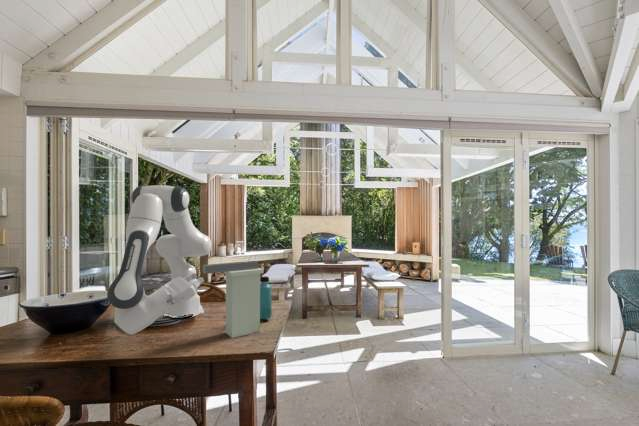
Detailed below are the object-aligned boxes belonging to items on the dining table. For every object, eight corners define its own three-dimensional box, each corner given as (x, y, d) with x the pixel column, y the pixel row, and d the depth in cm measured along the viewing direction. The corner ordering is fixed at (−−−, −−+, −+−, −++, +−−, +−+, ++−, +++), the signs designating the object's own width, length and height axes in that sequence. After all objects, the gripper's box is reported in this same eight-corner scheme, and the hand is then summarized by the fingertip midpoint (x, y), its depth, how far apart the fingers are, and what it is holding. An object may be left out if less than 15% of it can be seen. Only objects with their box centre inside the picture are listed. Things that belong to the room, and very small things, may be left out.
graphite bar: (205, 273, 124) (205, 265, 124) (202, 272, 126) (203, 264, 126) (258, 268, 137) (258, 261, 137) (255, 267, 139) (255, 260, 139)
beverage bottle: (268, 322, 146) (269, 278, 146) (254, 321, 147) (255, 277, 147) (273, 318, 152) (274, 275, 153) (260, 317, 154) (260, 275, 154)
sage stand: (230, 339, 126) (230, 272, 127) (222, 332, 134) (223, 269, 134) (263, 331, 135) (263, 269, 135) (253, 325, 142) (254, 266, 142)
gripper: (166, 298, 108) (203, 274, 115) (155, 287, 124) (188, 266, 131) (176, 313, 110) (212, 288, 117) (164, 300, 126) (196, 278, 133)
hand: (199, 276), depth 124 cm, fingers open, 8 cm apart
